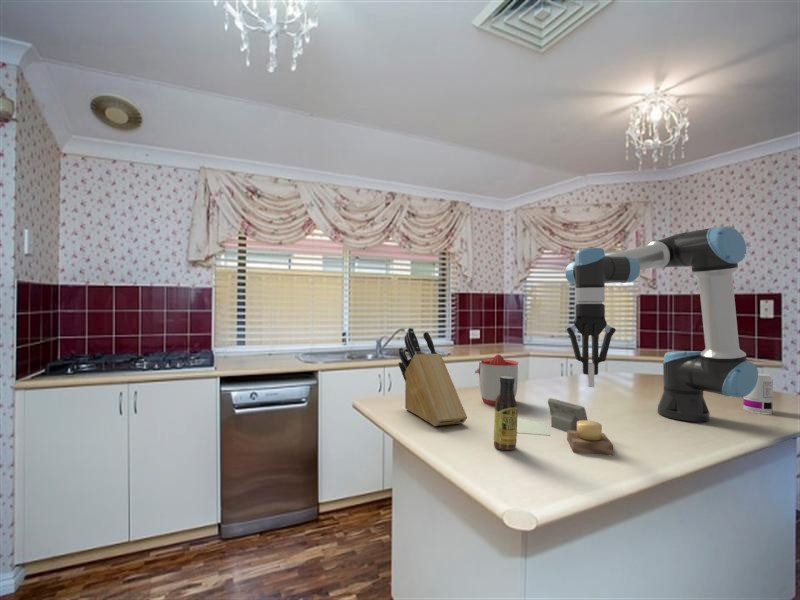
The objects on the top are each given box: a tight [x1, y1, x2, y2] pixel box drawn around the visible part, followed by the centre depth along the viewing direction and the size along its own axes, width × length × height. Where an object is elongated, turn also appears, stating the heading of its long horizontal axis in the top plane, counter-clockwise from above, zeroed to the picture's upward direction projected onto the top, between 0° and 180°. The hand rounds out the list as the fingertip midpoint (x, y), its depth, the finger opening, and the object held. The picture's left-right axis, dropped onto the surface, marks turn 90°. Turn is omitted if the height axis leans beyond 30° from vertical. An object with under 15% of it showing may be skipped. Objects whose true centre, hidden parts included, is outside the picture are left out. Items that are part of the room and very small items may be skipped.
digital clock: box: [547, 397, 589, 433], centre depth 130 cm, size 14×8×9 cm, turn 18°
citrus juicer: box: [474, 353, 519, 407], centre depth 162 cm, size 16×17×20 cm
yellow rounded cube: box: [577, 420, 603, 440], centre depth 113 cm, size 6×6×6 cm
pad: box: [517, 417, 551, 437], centre depth 133 cm, size 13×17×1 cm
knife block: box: [398, 327, 468, 427], centre depth 146 cm, size 11×35×31 cm, turn 23°
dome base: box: [566, 430, 614, 457], centre depth 113 cm, size 10×10×3 cm
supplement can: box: [742, 372, 774, 413], centre depth 149 cm, size 8×8×15 cm
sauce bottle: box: [493, 376, 518, 451], centre depth 113 cm, size 7×6×20 cm
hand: (590, 386), depth 114 cm, fingers closed
